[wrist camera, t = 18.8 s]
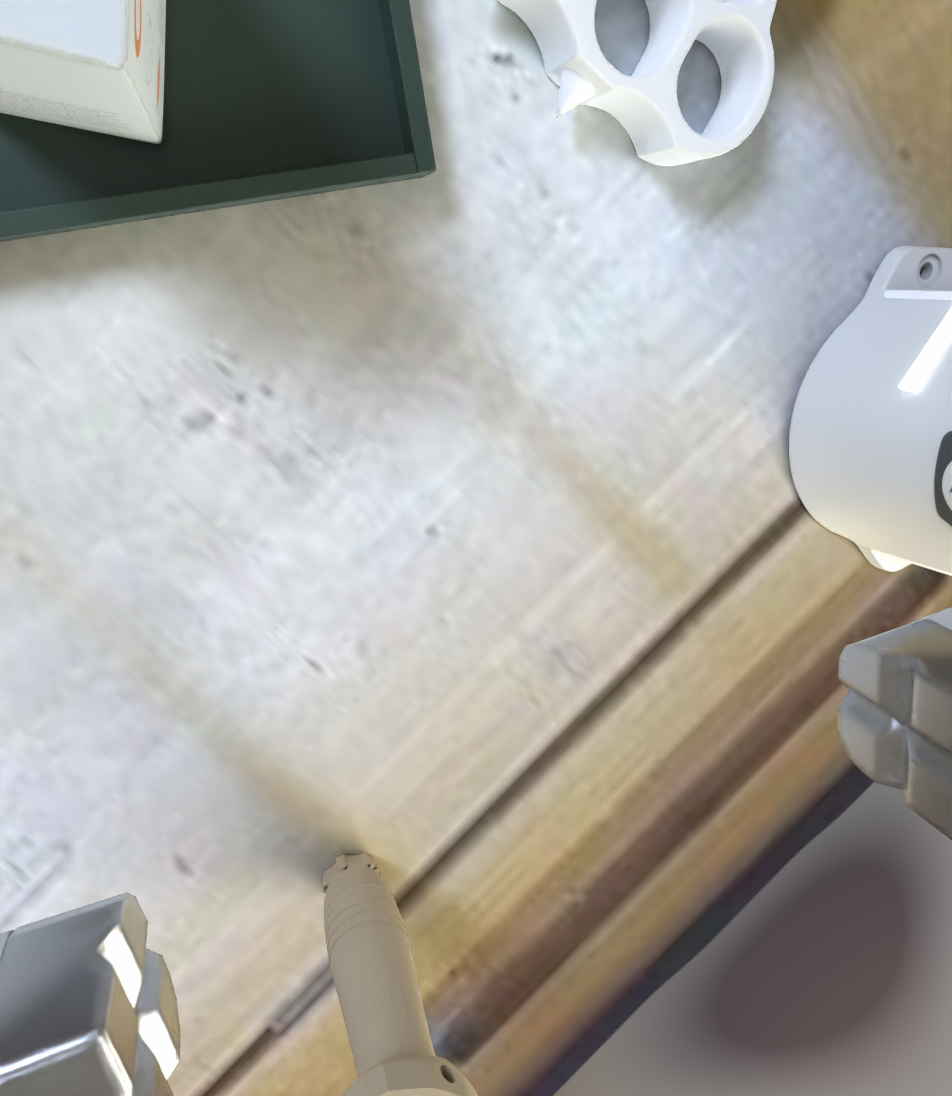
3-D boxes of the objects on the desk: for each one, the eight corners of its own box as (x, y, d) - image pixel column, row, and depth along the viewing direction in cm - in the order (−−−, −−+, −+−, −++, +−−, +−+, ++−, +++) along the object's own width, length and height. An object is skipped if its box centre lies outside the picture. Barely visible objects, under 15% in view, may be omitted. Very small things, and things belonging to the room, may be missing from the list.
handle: (332, 816, 42) (391, 1071, 29) (420, 861, 45) (510, 1113, 32) (276, 883, 42) (308, 1167, 29) (367, 924, 45) (434, 1199, 32)
